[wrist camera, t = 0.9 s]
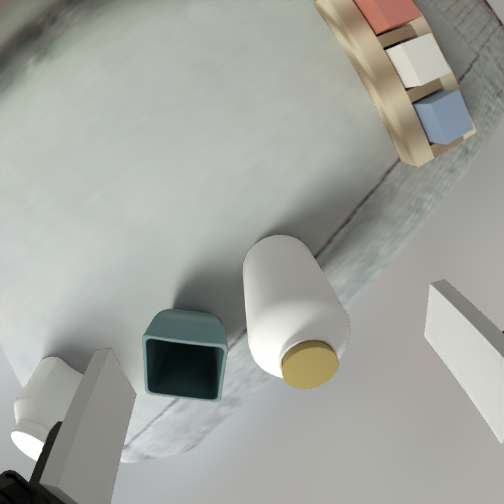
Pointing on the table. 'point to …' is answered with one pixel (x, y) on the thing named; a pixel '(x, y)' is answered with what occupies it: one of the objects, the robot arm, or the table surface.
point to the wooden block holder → (389, 77)
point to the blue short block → (443, 116)
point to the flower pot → (185, 355)
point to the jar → (43, 404)
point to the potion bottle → (292, 313)
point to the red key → (387, 13)
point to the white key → (418, 61)
